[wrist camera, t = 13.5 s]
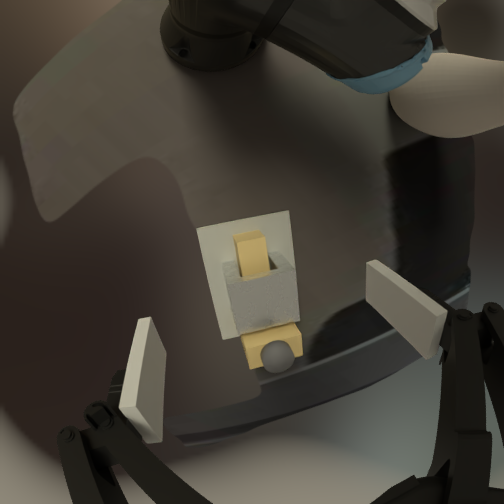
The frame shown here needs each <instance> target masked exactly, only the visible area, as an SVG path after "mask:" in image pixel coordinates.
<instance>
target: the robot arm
mask: <svg viewBox="0 0 504 504" xmlns="http://www.w3.org/2000/svg"><path fill="white" fill-rule="evenodd" d="M445 1H446V0H169V5H168V7H167V8H166V10H165V12H164V14H163V16H162V19H161V24H160V34H161V39H162V43H163V45H164V48H165V49H166V51H167V52H168V54H169V55H170V56H171V57H172V58H173V59H174V60H176V61H177V62H178V63H180V64H182V65H184V66H186V67H188V68H191V69H195V70H200V71H221V70H226V69H230V68H233V67H236V66H238V65H240V64H242V63H243V62H245V61H246V60H248V59H249V58H250V57H251V56H252V55H253V54H254V53H255V52H256V51H257V49H258V48H259V46H260V45H261V43H262V41H263V39H266V40H267V41H269V42H271V43H273V44H275V45H277V46H279V47H281V48H283V49H285V50H287V51H289V52H291V53H293V54H295V55H296V56H298V57H300V58H302V59H304V60H305V61H307V62H309V63H311V64H312V65H314V66H316V67H317V68H319V69H321V70H322V71H324V72H325V73H326V74H327V75H328V76H329V77H331V78H332V79H334V80H338V81H341V82H342V83H344V84H346V85H347V86H349V87H350V88H352V89H354V90H356V91H358V92H361V93H366V94H380V93H385V92H388V91H391V90H393V89H396V88H398V87H400V86H402V85H403V84H405V83H407V82H408V81H409V80H411V79H412V78H413V77H415V76H416V75H417V74H418V73H419V72H420V71H421V70H422V69H423V66H422V64H423V63H426V62H428V60H429V58H430V56H431V54H432V41H431V39H430V36H429V34H430V33H432V32H433V31H434V30H436V29H437V15H436V11H437V7H438V6H440V5H441V4H442V3H444V2H445ZM366 301H367V302H368V303H369V304H370V305H372V306H373V307H374V308H375V309H376V310H377V311H378V312H379V313H380V314H381V315H382V316H383V317H384V318H385V319H386V320H387V321H388V322H389V323H390V324H391V325H392V326H393V327H394V328H395V329H396V330H397V331H398V332H399V333H400V334H401V335H402V336H403V337H404V338H405V339H406V340H407V341H408V342H409V343H410V344H411V345H412V346H413V347H414V348H415V349H416V350H417V351H418V352H419V353H420V354H421V355H422V356H423V357H424V358H425V359H426V360H427V359H429V358H431V357H433V356H434V355H436V354H437V351H438V348H439V345H440V346H441V347H442V348H443V353H442V356H441V359H440V362H439V365H440V364H441V362H442V381H441V382H442V383H441V399H440V411H439V420H438V429H437V437H436V443H435V449H434V455H433V460H432V464H431V467H430V469H429V472H428V474H427V476H426V477H421V478H417V479H416V477H415V476H414V475H413V476H411V477H409V478H407V479H406V480H404V481H402V482H400V483H398V484H396V485H394V486H393V487H391V488H390V489H388V490H387V491H386V492H385V493H383V494H382V495H381V496H380V497H378V498H377V499H376V500H375V501H373V502H372V503H370V504H504V489H500V488H493V487H489V479H490V468H491V456H492V434H491V432H487V431H486V403H485V385H484V380H485V383H486V386H487V389H488V392H489V395H490V398H491V401H492V404H493V408H494V411H495V414H496V418H497V422H498V425H499V429H500V433H501V437H502V442H503V446H504V310H503V308H502V307H501V306H500V305H499V304H497V303H494V302H488V303H486V304H484V306H483V310H482V312H479V313H475V314H473V313H472V312H471V311H469V310H466V309H458V310H455V309H454V308H452V307H451V306H449V305H448V304H447V303H445V302H444V301H443V300H441V299H440V298H439V297H437V296H435V295H434V294H433V293H432V292H430V291H429V290H426V289H423V288H419V289H418V288H416V287H415V286H413V285H412V284H411V283H409V282H408V281H406V280H405V279H404V278H402V277H401V276H399V275H398V274H397V273H395V272H394V271H392V270H391V269H389V268H388V267H386V266H385V265H384V264H382V263H381V262H379V261H378V260H372V261H369V262H366ZM493 341H494V342H493ZM165 365H166V351H165V349H164V347H163V344H162V342H161V340H160V337H159V335H158V333H157V330H156V328H155V326H154V324H153V321H152V318H151V317H147V318H142V319H139V320H138V324H137V327H136V331H135V335H134V339H133V343H132V348H131V352H130V356H129V360H128V365H127V369H125V370H118V371H117V372H116V373H115V375H114V376H113V378H112V381H111V385H110V386H111V387H110V389H109V393H108V398H107V402H105V401H101V400H100V401H95V402H93V403H91V404H90V405H89V406H87V408H86V409H85V411H84V418H85V421H86V422H87V423H88V424H89V425H90V426H91V428H88V429H85V430H82V431H79V429H78V428H76V427H75V426H66V427H64V428H63V429H61V430H60V432H59V433H58V435H57V444H58V449H59V454H60V458H61V462H62V467H63V471H64V475H65V478H66V482H67V486H68V489H69V492H70V496H71V499H72V502H73V504H128V502H127V500H126V498H125V496H124V494H123V492H122V490H121V487H120V485H119V483H118V481H117V479H116V477H115V474H114V472H113V470H112V467H111V466H112V465H116V464H120V465H121V466H122V467H123V468H124V470H125V471H126V472H127V473H128V474H129V475H130V477H131V478H132V479H133V480H134V481H135V482H136V483H137V484H138V485H139V486H140V487H141V489H143V491H144V492H145V493H146V494H147V495H148V496H149V497H150V498H151V499H152V500H153V501H154V502H155V503H156V504H213V503H211V502H210V501H208V500H207V499H206V498H205V497H203V496H202V495H200V494H199V493H198V492H197V491H195V490H194V489H193V488H192V487H190V486H189V485H188V484H187V483H185V482H184V481H183V480H182V479H181V478H180V477H178V476H177V475H176V474H175V473H174V472H173V471H172V470H170V469H169V468H168V467H167V466H166V465H165V464H163V462H162V461H161V460H159V459H158V458H157V457H156V456H155V455H154V454H153V453H152V452H151V451H150V450H149V449H148V448H147V447H146V446H145V445H144V444H143V443H142V442H141V441H142V438H143V439H144V440H145V441H146V443H156V442H162V428H163V399H164V381H165V380H164V379H165Z"/></svg>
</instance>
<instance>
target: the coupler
mask: <svg viewBox="0 0 504 504" xmlns="http://www.w3.org/2000/svg"><path fill="white" fill-rule="evenodd" d="M233 240H234V246H235V251H236V257H237V262H238V268H239V273H240V277H243V276H247V275H252V274H256V273H261V272H265V271H270V267H269V260H268V253H267V246H266V239H265V236H264V235H263V234H262V233H261V232H260V230H255V231H250V232H245V233H240V234H235V235H233ZM240 337H241V341H242V344H243V348H244V351H245V354H246V358H247V361H248V364H249V368H250V369H254V368H258V367H262V366H264V368H265V369H266V370H267V371H268V372H271V373H280V372H283V371H285V370H287V369H288V368H290V367H291V366H292V364H293V362H294V360H295V357H298V356H302V355H303V350H302V336H301V333H300V331H299V330H298V328H297V326H296V325H295V323H294V322H290V323H286V324H282V325H278V326H274V327H270V328H266V329H262V330H258V331H254V332H250V333H245V334H241V335H240Z"/></svg>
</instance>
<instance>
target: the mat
mask: <svg viewBox="0 0 504 504" xmlns="http://www.w3.org/2000/svg"><path fill="white" fill-rule="evenodd" d="M255 230H260V232H261V233H262V234H263V235H264V236H265V239H266V246H267V253H269V252H273V251H279V252H280V253H281V254H282V255H283V256H284V257H285V258H286V259H287V261H288V262H289V263H290V264H291V265H292V266H293V267H294V268H295V261H294V252H293V242H292V233H291V225H290V216H289V211H288V210H287V211H281V212H276V213H271V214H265V215H260V216H255V217H250V218H245V219H240V220H235V221H230V222H225V223H220V224H215V225H210V226H206V227H201V228H197V234H198V238H199V242H200V247H201V252H202V256H203V261H204V265H205V269H206V274H207V278H208V282H209V286H210V291H211V295H212V299H213V303H214V307H215V311H216V315H217V319H218V323H219V326H220V330H221V334H222V338H223V340H225V339H229V338H234V337H238V336H240V335H238V332H237V328H236V325H235V321H234V318H233V314H232V310H231V307H230V302H229V297H228V293H227V288H226V283H225V278H224V273H223V268H222V263H221V262H226V261H231V260H234V262H235V265H236V267H237V270H238V272H239V268H238V262H237V257H236V251H235V246H234V240H233V235H235V234H240V233H245V232H250V231H255ZM239 274H240V273H239ZM299 316H300V315H299ZM298 321H300V320H297V321H294V322H298Z"/></svg>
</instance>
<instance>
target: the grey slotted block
mask: <svg viewBox="0 0 504 504" xmlns="http://www.w3.org/2000/svg"><path fill="white" fill-rule="evenodd" d="M268 260H269V267H270V271H265V272H261V273H256V274H252V275H247V276H243V277H240V274H239V272H238V270H237V267H236V265H235V262H234V260H231V261H226V262H221V263H222V268H223V273H224V278H225V283H226V288H227V293H228V297H229V302H230V307H231V310H232V314H233V318H234V321H235V325H236V328H237V332H238V335H241V334H245V333H250V332H254V331H258V330H262V329H266V328H270V327H274V326H278V325H282V324H286V323H290V322H294V321H297V320H300V316H299V303H298V291H297V280H296V270H295V268H294V267H293V266H292V265H291V264H290V263H289V262H288V261H287V259H286V258H285V257H284V256H283V255H282V254H281V253H280V252H279V251H273V252H269V253H268Z"/></svg>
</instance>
